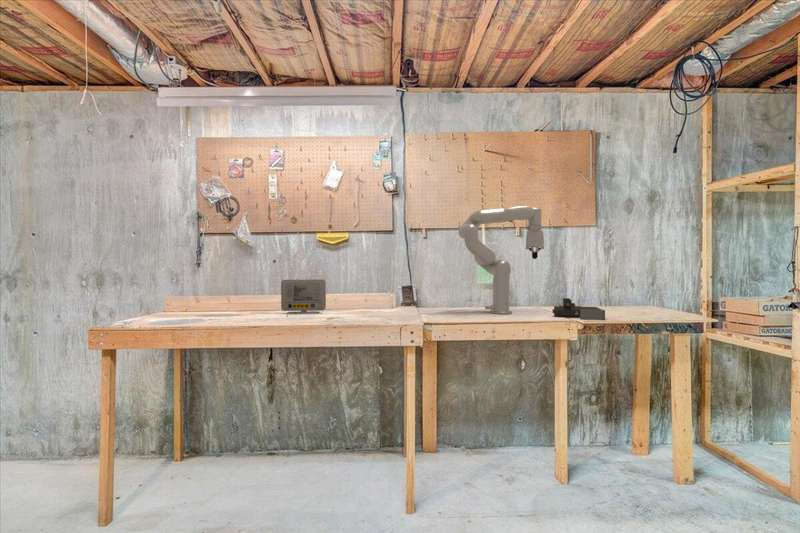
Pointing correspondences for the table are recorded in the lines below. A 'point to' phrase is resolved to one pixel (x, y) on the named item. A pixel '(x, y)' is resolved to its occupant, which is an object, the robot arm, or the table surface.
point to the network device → (303, 296)
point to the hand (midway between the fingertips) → (534, 258)
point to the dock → (593, 314)
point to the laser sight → (569, 309)
